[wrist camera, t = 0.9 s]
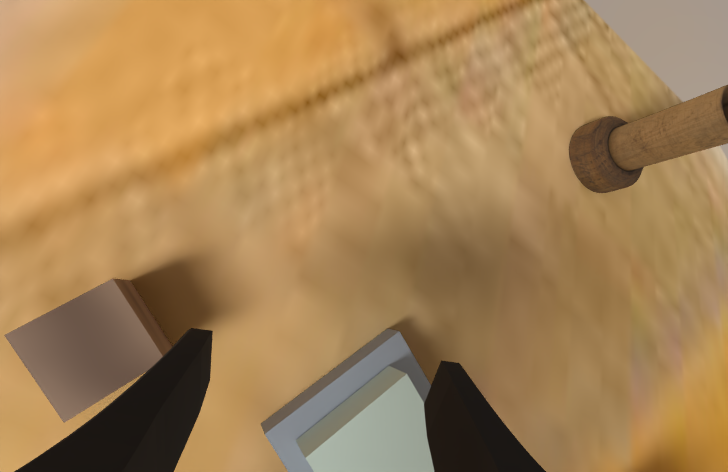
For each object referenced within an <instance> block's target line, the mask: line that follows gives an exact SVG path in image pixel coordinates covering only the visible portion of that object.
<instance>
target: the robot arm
mask: <svg viewBox="0 0 728 472" xmlns="http://www.w3.org/2000/svg"><path fill="white" fill-rule="evenodd" d="M211 350H212V331H209V330H202V329H194V328H191V329H189V330H188V331H187V332H186V333H185V334H184V335H183V336H182V337H181V338H180V339H179V340H178V341H177V343H176V344H175V345H174V346H173V347H172V348H171V349H170V350H169V351H168V352H167V353H166V354H165V355H164V356H163V357H162V358H161V359H160V360H159V361H158V362H157V363H156V364H155V365H153V366H152V367H151V368H150V369H149V370H148V371H147V372H146V373H145V374H144V375H143V376H142V377H141V378H140V379H139V380H137V381H136V382H135V383H134V384H133V385H132V386H131V387H129V388H128V389H127V390H126V391H125V392H124V393H122V394H121V395H120V396H119V397H118V398H117V399H115V400H114V401H113V402H112V403H111V404H109V405H108V406H107V407H106V408H104V409H103V410H102V411H101V412H99V413H98V414H97V415H96V416H94V417H93V418H92V419H90V420H89V421H88V422H86V423H85V424H84V425H82V426H81V427H80V428H78V429H77V430H76V431H74V432H73V433H72V434H70V435H69V436H67V437H66V438H64V439H63V440H62V441H60V442H59V443H57V444H56V445H54V446H53V447H51V448H50V449H49V450H47V451H46V452H44V453H43V454H41V455H40V456H38V457H37V458H35V459H34V460H32V461H31V462H29V463H27V464H26V465H24V466H23V467H21V468H19V469H18V470H16V471H14V472H174V470H175V467H176V465H177V463H178V461H179V458H180V456H181V454H182V452H183V449H184V447H185V445H186V443H187V440H188V438H189V436H190V433H191V431H192V429H193V427H194V424H195V422H196V420H197V417H198V415H199V413H200V410H201V407H202V403H203V400H204V397H205V394H206V391H207V388H208V384H209V381H210V369H211ZM424 412H425V423H426V432H427V439H428V444H429V449H430V453H431V458H432V463H433V467H434V472H546V471H545V470H544V469H543V468H542V467H541V466H540V465H539V464H538V463H537V462H536V461H535V460H534V459H533V457H532V456H531V455H530V454H529V453H528V452H527V451H526V449H525V448H524V447H523V446H522V445H521V444H520V442H519V441H518V440H517V439H516V438H515V436H514V435H513V434H512V433H511V432H510V430H509V429H508V428H507V427H506V425H505V424H504V423H503V422H502V420H501V419H500V418H499V416H498V415H497V414H496V413H495V411H494V410H493V409H492V407H491V406H490V405H489V403H488V402H487V401H486V399H485V398H484V396H483V395H482V394H481V392H480V391H479V390H478V388H477V387H476V385H475V384H474V383H473V381H472V380H471V379H470V377H469V376H468V374H467V373H466V372H465V370H464V369H463V368H462V366H461V365H460V364H459V363H454V362H447V361H441V363H440V365H439V368H438V370H437V373H436V375H435V378H434V380H433V383H432V385H431V388H430V390H429V393H428V395H427V398H426V400H425V403H424Z"/></svg>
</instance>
